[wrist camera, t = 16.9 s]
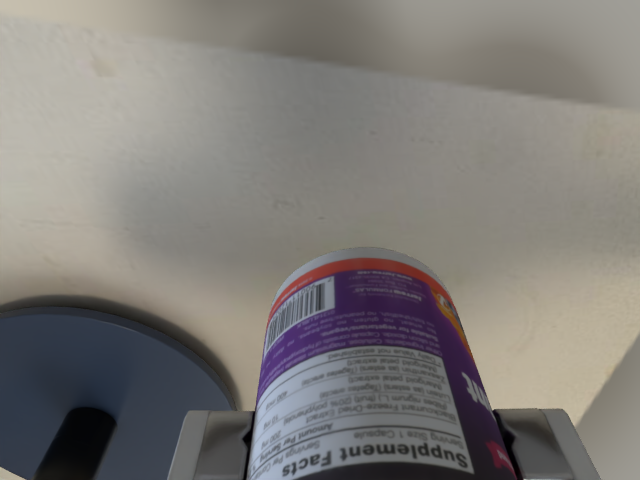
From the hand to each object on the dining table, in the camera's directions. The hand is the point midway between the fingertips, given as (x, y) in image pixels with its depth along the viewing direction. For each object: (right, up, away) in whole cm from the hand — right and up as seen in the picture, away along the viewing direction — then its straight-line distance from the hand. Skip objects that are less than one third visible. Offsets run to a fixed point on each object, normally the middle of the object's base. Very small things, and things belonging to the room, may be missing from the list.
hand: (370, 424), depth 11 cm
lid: (-12, -4, +12) cm, 17 cm away
